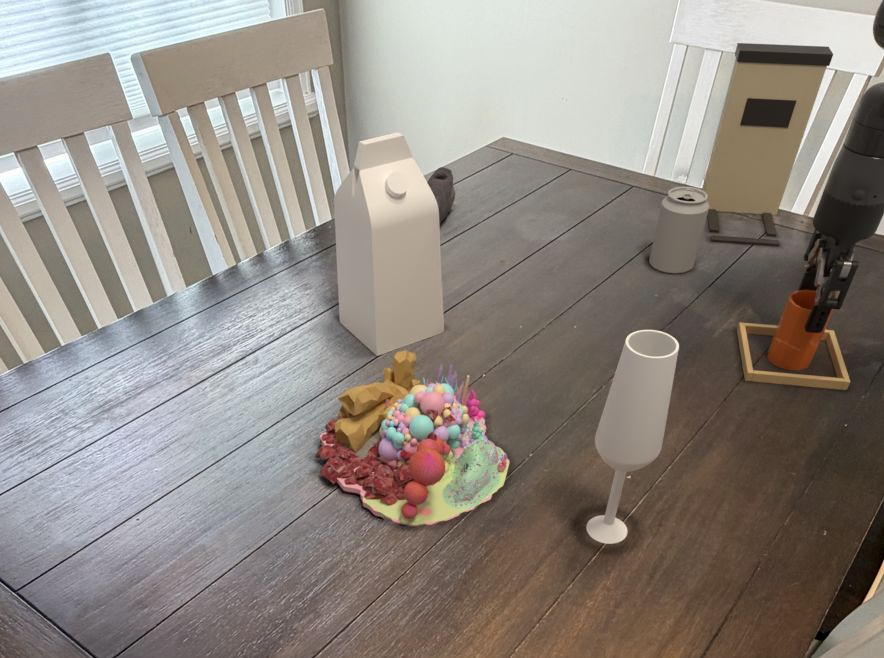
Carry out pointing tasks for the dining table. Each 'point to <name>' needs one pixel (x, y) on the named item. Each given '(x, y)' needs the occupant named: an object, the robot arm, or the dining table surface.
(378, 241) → the milk
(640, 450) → the champagne flute
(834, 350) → the tan wooden square frame
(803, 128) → the standing sign board
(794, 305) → the cup
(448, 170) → the perforated stone tool
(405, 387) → the candy landscape model
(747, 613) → the dining table surface
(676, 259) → the can
